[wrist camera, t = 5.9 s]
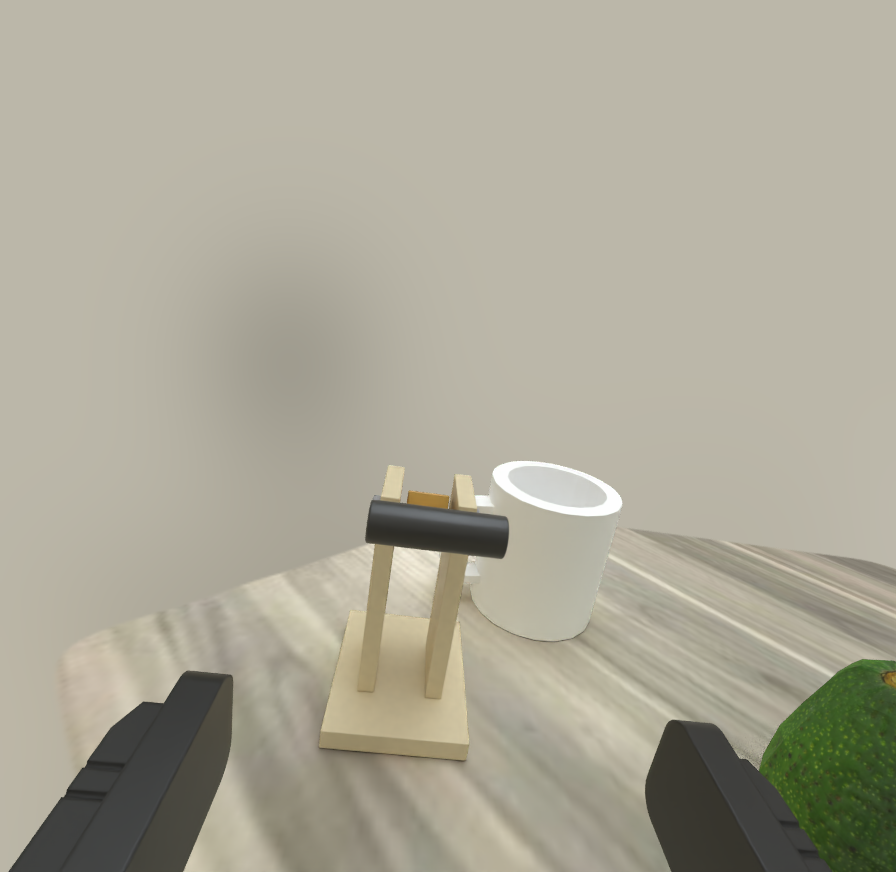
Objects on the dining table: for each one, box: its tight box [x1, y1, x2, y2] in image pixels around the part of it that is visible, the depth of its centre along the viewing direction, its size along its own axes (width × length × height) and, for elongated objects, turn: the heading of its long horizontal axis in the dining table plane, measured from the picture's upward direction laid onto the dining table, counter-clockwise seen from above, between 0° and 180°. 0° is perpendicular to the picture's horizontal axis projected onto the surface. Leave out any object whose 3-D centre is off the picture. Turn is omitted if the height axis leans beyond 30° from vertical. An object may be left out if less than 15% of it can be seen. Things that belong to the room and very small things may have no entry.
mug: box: [439, 461, 623, 642], centre depth 40 cm, size 14×10×11 cm
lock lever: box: [365, 491, 509, 559], centre depth 23 cm, size 12×5×2 cm, turn 2°
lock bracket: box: [319, 465, 480, 761], centre depth 29 cm, size 10×8×14 cm
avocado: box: [759, 659, 896, 872], centre depth 22 cm, size 8×8×12 cm
